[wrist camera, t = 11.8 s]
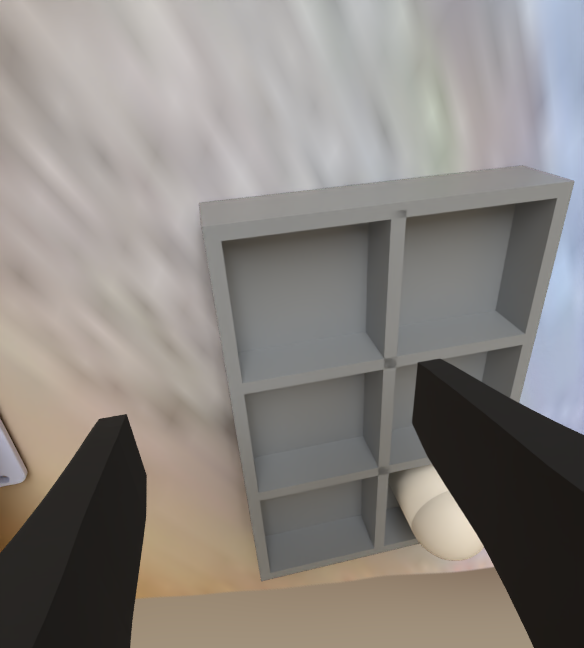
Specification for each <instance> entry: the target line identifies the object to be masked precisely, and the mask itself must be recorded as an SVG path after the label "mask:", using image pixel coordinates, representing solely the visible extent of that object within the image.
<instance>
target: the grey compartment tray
mask: <svg viewBox="0 0 584 648" xmlns="http://www.w3.org/2000/svg"><path fill="white" fill-rule="evenodd" d="M573 185H574V181H573V180H570V179H566V178H563V177H559V176H556V175H553V174H549V173H546V172H543V171H539V170H536V169H533V168H529V167H526V166H515V167H506V168H497V169H489V170H480V171H471V172H463V173H454V174H445V175H437V176H428V177H419V178H411V179H402V180H393V181H385V182H376V183H368V184H359V185H350V186H342V187H333V188H324V189H316V190H307V191H298V192H290V193H281V194H272V195H264V196H255V197H246V198H238V199H229V200H220V201H212V202H203V203H199V207H200V217H201V227H202V233H203V239H204V244H205V250H206V256H207V262H208V268H209V274H210V280H211V286H212V292H213V298H214V304H215V310H216V316H217V322H218V328H219V334H220V339H221V345H222V351H223V357H224V363H225V369H226V375H227V381H228V387H229V393H230V399H231V405H232V411H233V417H234V423H235V429H236V434H237V440H238V446H239V452H240V458H241V464H242V470H243V476H244V482H245V488H246V494H247V500H248V506H249V512H250V518H251V524H252V529H253V535H254V541H255V547H256V553H257V559H258V565H259V571H260V577H261V581H265V580H269V579H273V578H277V577H282V576H286V575H290V574H294V573H298V572H302V571H307V570H311V569H315V568H319V567H323V566H328V565H332V564H336V563H340V562H344V561H348V560H353V559H357V558H361V557H365V556H369V555H374V554H378V553H382V552H386V551H390V550H394V549H399V548H403V547H407V546H411V545H415V544H420V543H419V542H418V540H417V539H416V537H415V536H414V534H413V532H412V530H411V528H410V526H409V524H408V522H407V519H406V517H405V515H404V513H403V511H402V509H401V507H400V505H399V503H398V501H397V499H396V497H395V495H394V493H393V491H392V489H391V487H390V485H389V483H388V478H389V473H392V472H397V471H402V470H407V469H411V468H416V467H421V466H425V465H430V464H432V463H431V462H430V460H429V458H428V457H427V455H426V452H425V450H424V448H423V446H422V444H421V442H420V440H419V438H418V435H417V433H416V431H415V429H414V427H413V424H412V416H413V406H414V395H415V385H416V375H417V365H418V362H423V361H428V360H434V359H442V360H444V361H446V362H448V363H450V364H452V365H453V366H455V367H457V368H459V369H460V370H462V371H464V372H466V373H467V374H469V375H471V376H473V377H474V378H476V379H478V380H479V381H481V382H483V383H485V384H486V385H488V386H490V387H492V388H493V389H495V390H497V391H499V392H500V393H502V394H504V395H506V396H507V397H509V398H511V399H513V400H515V401H516V402H518V403H519V401H520V397H521V393H522V389H523V385H524V381H525V377H526V373H527V369H528V365H529V361H530V357H531V353H532V349H533V345H534V341H535V337H536V333H537V329H538V325H539V321H540V317H541V313H542V309H543V305H544V301H545V297H546V293H547V289H548V285H549V281H550V277H551V273H552V269H553V265H554V261H555V257H556V253H557V249H558V245H559V241H560V237H561V233H562V229H563V225H564V221H565V217H566V213H567V209H568V205H569V201H570V197H571V193H572V189H573Z"/></svg>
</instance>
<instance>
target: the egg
mask: <svg viewBox="0 0 584 648" xmlns="http://www.w3.org/2000/svg"><path fill="white" fill-rule="evenodd" d="M388 483H389V485H390V487H391V489H392V491H393V493H394V495H395V497H396V499H397V501H398V503H399V505H400V507H401V509H402V511H403V513H404V515H405V517H406V519H407V522H408V524H409V526H410V528H411V530H412V532H413V534H414V536H415V537H416V539H417V540H418V542H419V543H420V544H421V545H422V546H423V547H424V548H425V549H426V550H427V551H429V552H430V553H431V554H433V555H435V556H437V557H439V558H442V559H445V560H451V561H460V560H465V559H468V558H471V557H473V556H475V555H476V554H478V553H479V552H480V551H481V550H482V549H483V548H484V546H483V544H482V543H481V541H480V539H479V538H478V536H477V534H476V533H475V531H474V529H473V528H472V526H471V525H470V523H469V522H468V520H467V518H466V517H465V515H464V514H463V512H462V511H461V509H460V507H459V506H458V504H457V503H456V501H455V500H454V498H453V497H452V495H451V493H450V492H449V490H448V489H447V487H446V486H445V484H444V482H443V481H442V479H441V478H440V476H439V475H438V473H437V471H436V470H435V468H434V467H433V465H432V464H430V465H425V466H421V467H416V468H411V469H407V470H402V471H397V472H392V473H389V478H388Z"/></svg>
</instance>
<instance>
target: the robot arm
mask: <svg viewBox="0 0 584 648" xmlns="http://www.w3.org/2000/svg"><path fill="white" fill-rule="evenodd" d="M412 424H413V427H414V429H415V431H416V433H417V435H418V438H419V440H420V442H421V444H422V446H423V448H424V450H425V452H426V455H427V457H428V458H429V460H430V462H431V463H432V465H433V467H434V468H435V470H436V471H437V473H438V475H439V476H440V478H441V479H442V481H443V482H444V484H445V486H446V487H447V489H448V490H449V492H450V493H451V495H452V497H453V498H454V500H455V501H456V503H457V504H458V506H459V507H460V509H461V511H462V512H463V514H464V515H465V517H466V518H467V520H468V522H469V523H470V525H471V526H472V528H473V529H474V531H475V533H476V534H477V536H478V538H479V539H480V541H481V543H482V544H483V546H484V548H485V549H486V551H487V553H488V555H489V557H490V559H491V561H492V563H493V565H494V567H495V569H496V571H497V573H498V574H499V576H500V578H501V580H502V582H503V584H504V586H505V588H506V590H507V592H508V594H509V596H510V598H511V600H512V602H513V604H514V607H515V608H516V611H517V613H518V615H519V617H520V619H521V621H522V623H523V625H524V627H525V629H526V631H527V633H528V636H529V638H530V640H531V642H532V644H533V647H534V648H584V435H583V434H580V433H578V432H576V431H574V430H572V429H569V428H567V427H565V426H563V425H561V424H559V423H557V422H555V421H553V420H551V419H549V418H547V417H545V416H543V415H541V414H539V413H537V412H535V411H533V410H531V409H529V408H528V407H526V406H524V405H522V404H520V403H518V402H516V401H515V400H513V399H511V398H509V397H507V396H506V395H504V394H502V393H500V392H499V391H497V390H495V389H493V388H492V387H490V386H488V385H486V384H485V383H483V382H481V381H479V380H478V379H476V378H474V377H473V376H471V375H469V374H467V373H466V372H464V371H462V370H460V369H459V368H457V367H455V366H453V365H452V364H450V363H448V362H446V361H444V360H442V359H434V360H428V361H423V362H418V365H417V375H416V385H415V395H414V406H413V416H412ZM4 476H7V477H4ZM26 476H27V469H26V467H25V465H24V463H23V461H22V459H21V458H20V456H19V454H18V452H17V450H16V448H15V446H14V444H13V442H12V440H11V438H10V436H9V434H8V432H7V430H6V428H5V427H4V425H3V423H2V421H1V419H0V487H3V486H8V485H13V484H18V483H21V482H23V481H24V480H25V478H26ZM146 478H147V475H146V472H145V469H144V466H143V463H142V460H141V457H140V454H139V451H138V448H137V445H136V442H135V439H134V435H133V432H132V429H131V426H130V423H129V420H128V417H127V414H125V415H119V416H113V417H108V418H102V419H99V420H98V421H97V423H96V424H95V425H94V427H93V428H92V430H91V431H90V433H89V434H88V436H87V437H86V439H85V440H84V442H83V443H82V445H81V446H80V448H79V449H78V451H77V452H76V454H75V455H74V457H73V458H72V460H71V461H70V463H69V464H68V466H67V467H66V468H65V470H64V471H63V473H62V474H61V475H60V477H59V478H58V480H57V481H56V482H55V484H54V485H53V487H52V488H51V489H50V491H49V492H48V494H47V495H46V496H45V498H44V499H43V500H42V502H41V503H40V504H39V506H38V507H37V508H36V509H35V511H34V512H33V513H32V515H31V516H30V517H29V518H28V520H27V521H26V522H25V523H24V525H23V526H22V527H21V529H20V530H19V531H18V532H17V534H16V535H15V536H14V537H13V539H12V540H11V541H10V542H9V543H8V545H7V546H6V547H5V548H4V549H3V551H2V552H1V553H0V648H130V640H131V630H132V629H131V628H132V619H133V611H134V604H135V596H136V589H137V582H138V574H139V567H140V560H141V552H142V545H143V537H144V529H145V521H146Z"/></svg>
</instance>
